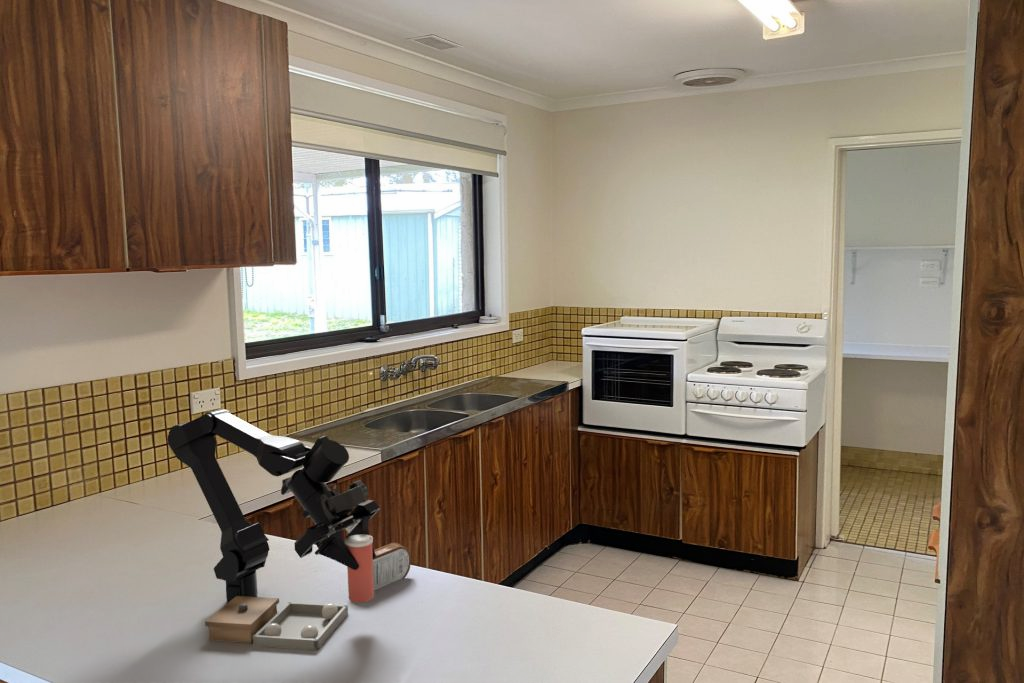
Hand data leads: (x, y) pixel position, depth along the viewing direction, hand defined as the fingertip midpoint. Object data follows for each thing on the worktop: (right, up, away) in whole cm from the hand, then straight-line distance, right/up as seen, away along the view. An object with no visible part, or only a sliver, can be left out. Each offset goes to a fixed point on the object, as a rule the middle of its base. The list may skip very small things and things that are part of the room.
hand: (366, 563), depth 144 cm
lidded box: (-23, -13, +2) cm, 27 cm away
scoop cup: (-1, -7, +1) cm, 7 cm away
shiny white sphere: (-16, -13, -2) cm, 21 cm away
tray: (-12, -13, +1) cm, 18 cm away
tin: (0, -11, +21) cm, 23 cm away
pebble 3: (-8, -12, +5) cm, 15 cm away
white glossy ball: (-9, -13, -4) cm, 16 cm away
